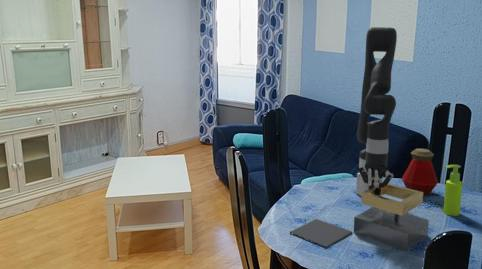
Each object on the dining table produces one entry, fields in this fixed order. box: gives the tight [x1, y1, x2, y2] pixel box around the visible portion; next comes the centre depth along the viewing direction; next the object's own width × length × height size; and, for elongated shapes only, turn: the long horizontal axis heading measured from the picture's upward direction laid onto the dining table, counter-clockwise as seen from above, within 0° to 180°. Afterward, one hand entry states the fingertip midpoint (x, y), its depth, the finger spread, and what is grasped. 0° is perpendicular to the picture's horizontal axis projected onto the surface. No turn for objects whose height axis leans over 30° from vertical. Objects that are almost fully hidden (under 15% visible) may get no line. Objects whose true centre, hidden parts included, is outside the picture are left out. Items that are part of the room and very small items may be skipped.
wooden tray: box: [360, 183, 424, 216], centre depth 148 cm, size 15×15×4 cm
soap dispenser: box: [442, 164, 464, 217], centre depth 165 cm, size 6×7×20 cm
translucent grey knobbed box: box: [353, 206, 430, 252], centre depth 149 cm, size 20×16×13 cm
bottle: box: [401, 148, 439, 197], centre depth 188 cm, size 16×14×20 cm
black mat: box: [289, 218, 353, 249], centre depth 152 cm, size 16×16×1 cm
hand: (374, 195), depth 153 cm, fingers closed on wooden tray
